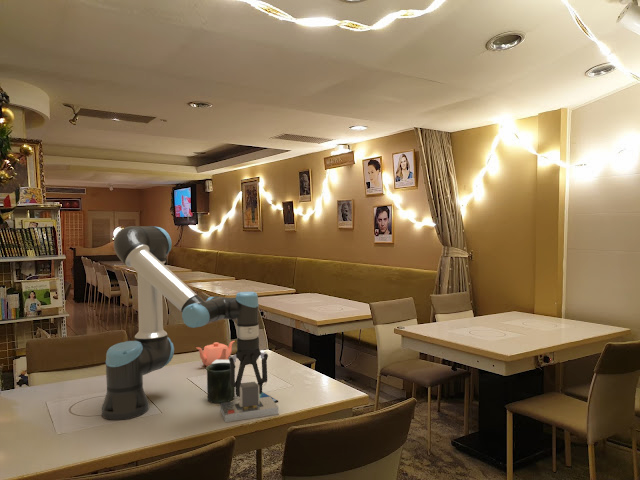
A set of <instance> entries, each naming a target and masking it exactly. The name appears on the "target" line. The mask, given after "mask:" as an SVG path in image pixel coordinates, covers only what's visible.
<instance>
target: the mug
mask: <svg viewBox="0 0 640 480" xmlns="http://www.w3.org/2000/svg"><path fill="white" fill-rule="evenodd" d="M235 368H236V365H235ZM205 370H206V379H207V380H206V383H207V385H206V386H207V387H206V389H207V396H206V397H207V400H208V401H209V402H211V403H216V404H220V403H227V402H232V400H234V399H235V396H236V387H232V386H231V384H230V363H215V364H211V365H209V366H206V367H205Z"/></svg>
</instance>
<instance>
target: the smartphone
mask: <svg viewBox="0 0 640 480" xmlns="http://www.w3.org/2000/svg"><path fill="white" fill-rule="evenodd" d="M259 397H260V398H263V397H271V398H272V399H273V401H274V402H275V403H276V404H277V403H279V400H278V399H276V398H274V397H272V396H271V395H268V393H265V392H264V391H262V394H259Z"/></svg>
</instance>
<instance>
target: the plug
mask: <svg viewBox="0 0 640 480" xmlns="http://www.w3.org/2000/svg"><path fill="white" fill-rule="evenodd" d="M256 383H257V382H256V381H249V382H248V381H247V382H241V384H240V385H241V387H242V406H243V409H249V408H251V406H252V408H256V407H257V405H258V385H257V384H256Z"/></svg>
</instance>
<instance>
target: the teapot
mask: <svg viewBox="0 0 640 480" xmlns="http://www.w3.org/2000/svg"><path fill="white" fill-rule="evenodd" d="M235 342H236V341H235V340H232V341H230V342H229V344H228V345H226V344H224V343H220V342H213V343H212V344H207V345H205V346H204V347H203V348H202V347H196V349H197V350H198V351H199V358H200V359H201V362H202V365H204V366H206V367H207V366H209V365H211V363H212V362H214V361H215V360H229V359H228V357H229V356H231V355H232V352H233V344H234V343H235Z"/></svg>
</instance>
